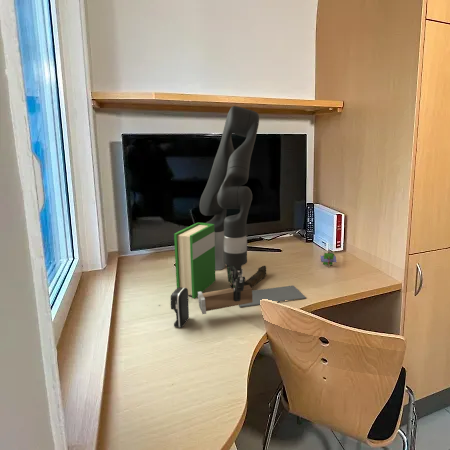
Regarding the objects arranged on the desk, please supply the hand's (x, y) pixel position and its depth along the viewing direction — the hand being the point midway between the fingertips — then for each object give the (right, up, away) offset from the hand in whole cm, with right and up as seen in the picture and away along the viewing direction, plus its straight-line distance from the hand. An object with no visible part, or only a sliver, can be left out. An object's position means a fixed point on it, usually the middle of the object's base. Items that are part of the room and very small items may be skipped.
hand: (235, 298), depth 120 cm
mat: (+13, -2, +15) cm, 19 cm away
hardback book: (-14, -1, +23) cm, 27 cm away
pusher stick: (-2, -2, 0) cm, 3 cm away
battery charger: (-18, -8, -3) cm, 20 cm away
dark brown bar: (+9, +1, +28) cm, 29 cm away
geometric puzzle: (+43, +6, +44) cm, 62 cm away
